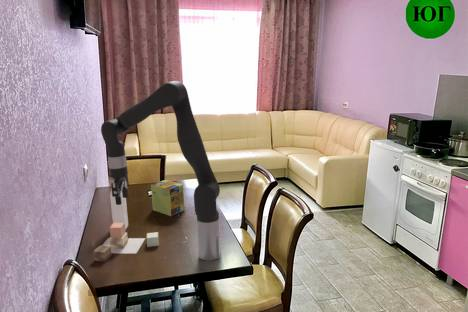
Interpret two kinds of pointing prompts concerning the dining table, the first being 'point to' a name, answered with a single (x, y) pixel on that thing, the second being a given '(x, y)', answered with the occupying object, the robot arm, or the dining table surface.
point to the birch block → (118, 242)
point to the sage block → (152, 239)
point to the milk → (119, 210)
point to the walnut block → (102, 253)
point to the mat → (127, 246)
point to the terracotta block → (117, 230)
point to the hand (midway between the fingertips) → (122, 200)
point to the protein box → (167, 197)
